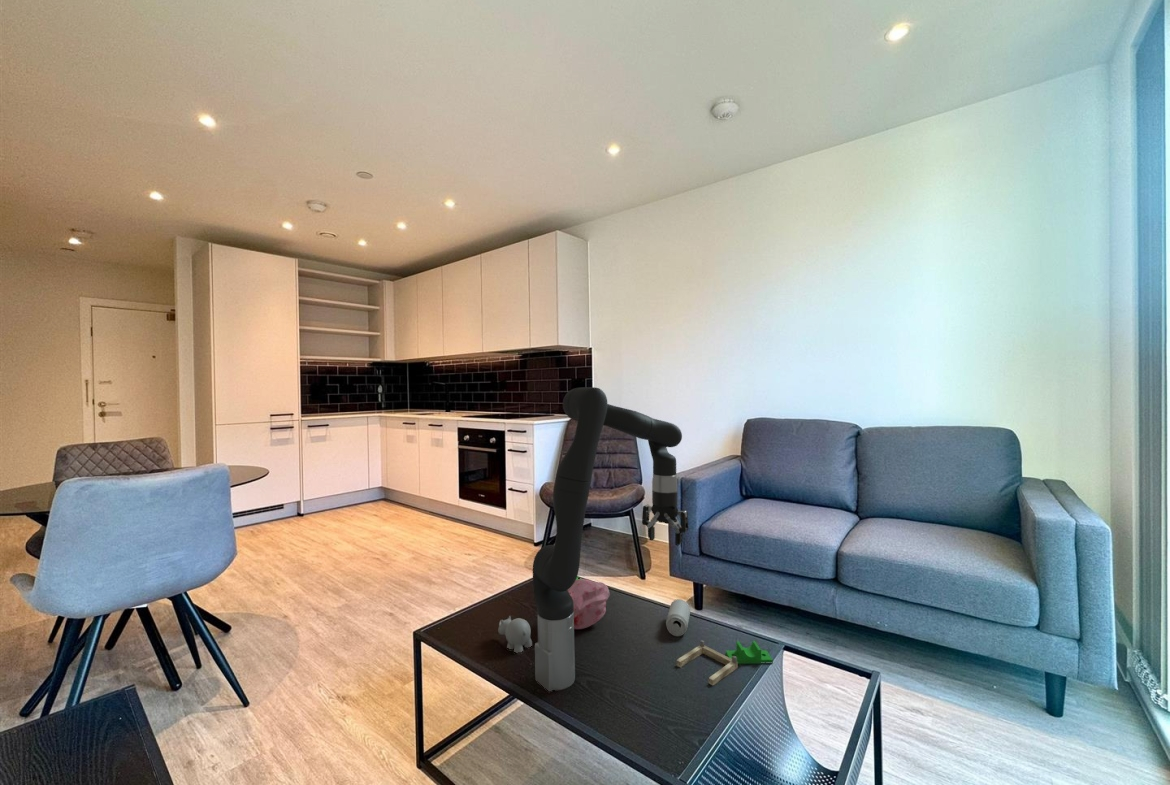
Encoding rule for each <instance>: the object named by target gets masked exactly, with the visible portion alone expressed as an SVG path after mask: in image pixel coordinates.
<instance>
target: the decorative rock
mask: <svg viewBox="0 0 1170 785" xmlns="http://www.w3.org/2000/svg"><path fill="white" fill-rule="evenodd" d="M568 592H569V594H570V595H571V597H572V599H573V604H574V630H584V629H587V628H589V627H591V626H592V625H594V624H596V623H598V622H599V621H600V620H601V619H602V618H603V617H604V616H605V614H606V612H607V609H606V606H607V600H608V599H609V597H610V590H609V587H608V586H607V585H606V584H605V583H604V582H602V581H593V580H590V579H584V578H582V579H577V580H575V582H574V584H573V585H572V586H571V587H570V588H569V589H568Z"/></svg>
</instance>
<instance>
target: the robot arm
mask: <svg viewBox="0 0 1170 785" xmlns="http://www.w3.org/2000/svg"><path fill="white" fill-rule="evenodd" d="M562 409H563V411H564V413H565V415H566V417H568V418H569V419H571V420H573V421H576V422H577V423H576V429H575V433H574V438H573V441H572V443H571V445H570V447H569V448H568V450H567V451H566V453H565V454H564V456H563V458H562V460H561V461H560V463H559V465H558V467H557V470H556V475H555V478H554V479H555V480H554V485H553V489H552V490H553V492H552V504H553V509H554V511H553V512H554V516H555V523H556V535H555V541H554V544H548V545H545V546H542V547H541V548H539V550H538V551H537V552H536V554H535V556H534V560H533V562H532V586H533V588H532V589H533V597H534V601H535V605H536V608H537V610H536V612H537V642H535V643H534V666H535V667H534V668H535V669H534V670H535V671H534V672H535V679H534V680H536V681H538V682H539V683H540V684H541V685H542V686H543V687H544V688H543V687H542V686H541V685H540V684H539V683H538V682H537V683H538V684H539V685H540V686H541V687H542V688H543V689H545V688H546V689H547V690H548V691H551V692H553V691H552V690H555V691H562V690H565V689H568V688H569V687H570V686H572V685H573V684H574V682H575V680H576V666H575V665H576V661H575V654H576V652H575V629H574V604H573V599H572V597H571V595H570V594H569V592H568V589H569V588H570V587H571V586H572V585H573V584H574V582H575V580H576V578H577V577H578V574H579V570H580V565H581V564H580V562H581V550H582V549H581V547H582V539H583V537H582V536H583V529H584V523H585V517H586V510H587V504H588V500H589V495H590V490H591V484H592V477H593V471H594V465H595V460H596V455H597V452H598V445H599V442H600V437H601V436H602V435H601V434H602V430H603V428H604V426H605V427H608V428H611V429H614V430H615V431H618V432H621V433H624V434H627V435H629V436H632V437H634V438H638V439H640V440H643V441H644V440H645V441H647V442H648V446H649V451H650V454H651V458H652V480H651V484H652V485H651V489H652V491H651V493H652V495H651V496H652V497H651V500H652V501H651V502H652V505H650V504H648V503H647V504H645V505H643V506H642V513H641V514H642V515H641V516H642V519H641V520H642V521H641V524H642V525H643V526H646V527H647V538H648V539H649V541H653V540H655V538H656V537H655V536H656V534H655V532H656V531H655V525H656V524H657V522H658V523H664V524H667V525H670V526H671V528H673V529H674V531H675V532H674V533H675V534H674V536H675V540H674V542H675V543H674V545H675V546H676V547H677V546H678V547H679V546H680V545H681V544H682V542H683V533H686V532H687V531H689V515H688V514H689V513H688V510H679V508H678V479H677V459H676V456H674V455H673V454H671V453H670V452H668V448H675V447H677V446H678V445H680V443H681V441H682V439H683V433H682V431H681V430H682V429H680V428H679V426H677V425H676V424H674V423H672V422H668V421H665V420H661V419H657V418H653V417H650V416H648V415H647V414H644V413H641V412H640V411H639V412H638V411H636V410H632V409H628V408H626V407H625V408H624V407H619V406H616V405H612V404H609V403H608V398H607V395H606V393H605V392H604V390H602V389H601V388H600V387H594V386H591V387H589V386H588V387H586V386H585V387H575V388H572V389H570V390H569V391H567V393H566V394H565V396H564V397H563V400H562ZM650 513H652V514H653V516H652V518H651V519H650ZM677 516H678V517H679V519H680V521H679V519H678V517H677ZM536 681H535V682H536ZM546 689H545V690H546ZM547 690H546V691H547ZM548 691H547V692H548Z"/></svg>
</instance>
